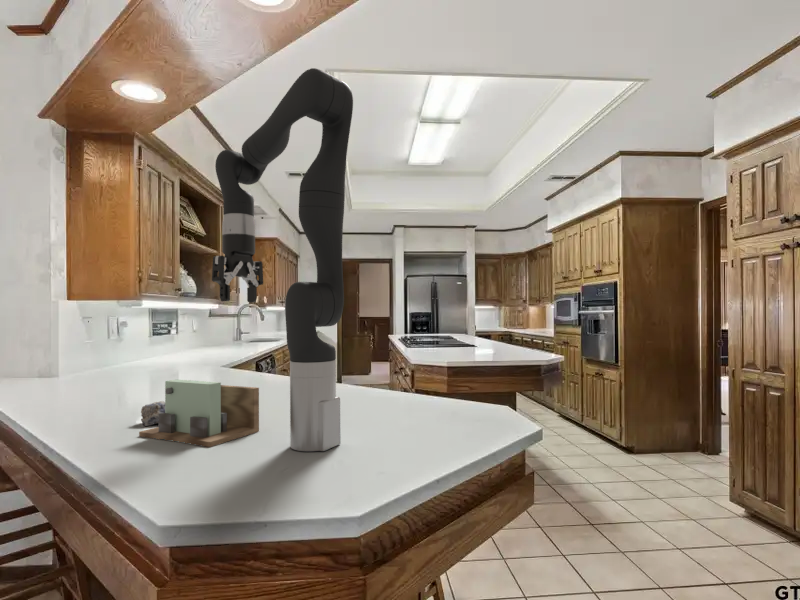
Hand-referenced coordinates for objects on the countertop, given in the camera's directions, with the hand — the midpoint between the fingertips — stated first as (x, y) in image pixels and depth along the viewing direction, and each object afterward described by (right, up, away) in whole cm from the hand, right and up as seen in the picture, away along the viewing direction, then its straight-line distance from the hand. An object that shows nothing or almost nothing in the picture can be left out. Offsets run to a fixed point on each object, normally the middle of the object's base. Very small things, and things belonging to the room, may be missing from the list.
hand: (239, 301), depth 112 cm
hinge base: (-7, -30, -7) cm, 31 cm away
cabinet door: (-8, -29, -8) cm, 31 cm away
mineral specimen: (-22, -31, +6) cm, 39 cm away
